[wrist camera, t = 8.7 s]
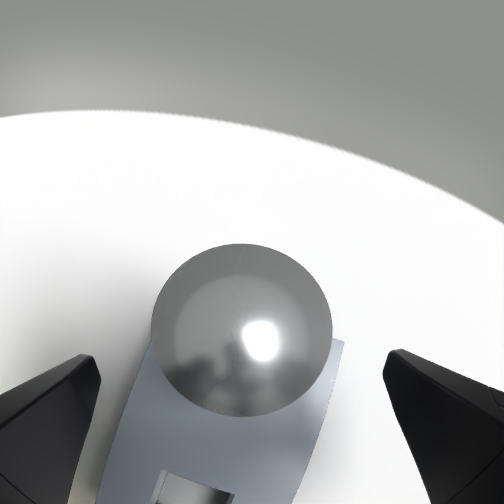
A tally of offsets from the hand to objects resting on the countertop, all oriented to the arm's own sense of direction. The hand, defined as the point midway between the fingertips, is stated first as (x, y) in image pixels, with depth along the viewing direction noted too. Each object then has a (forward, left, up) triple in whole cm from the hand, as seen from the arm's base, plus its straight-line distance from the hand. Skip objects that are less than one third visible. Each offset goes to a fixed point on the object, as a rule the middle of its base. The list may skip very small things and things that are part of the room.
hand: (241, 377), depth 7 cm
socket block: (-4, 0, -9) cm, 10 cm away
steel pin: (+1, 0, -9) cm, 9 cm away
